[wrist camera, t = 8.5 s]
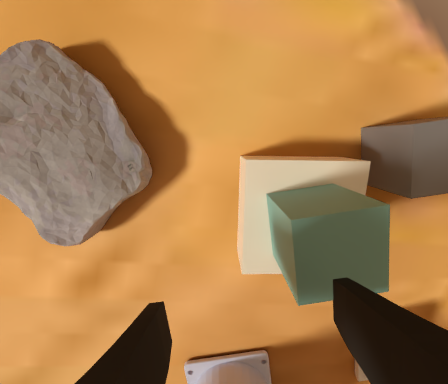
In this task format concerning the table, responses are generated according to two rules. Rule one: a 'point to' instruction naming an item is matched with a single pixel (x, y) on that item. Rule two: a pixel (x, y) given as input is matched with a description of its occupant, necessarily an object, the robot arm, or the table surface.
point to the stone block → (63, 144)
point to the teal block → (329, 240)
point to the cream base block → (276, 182)
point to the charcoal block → (408, 156)
